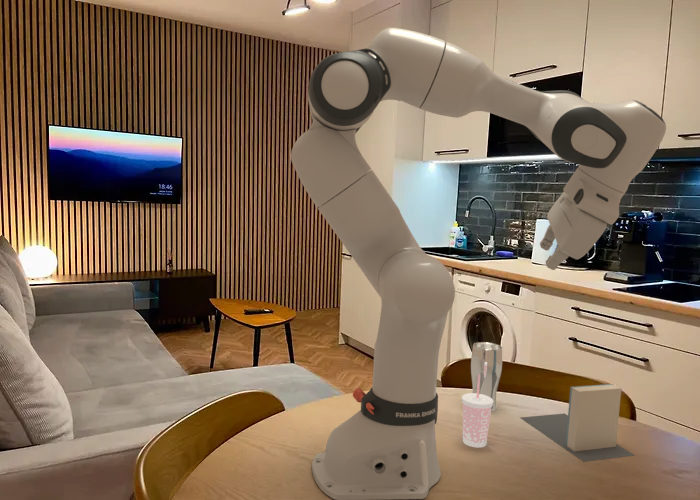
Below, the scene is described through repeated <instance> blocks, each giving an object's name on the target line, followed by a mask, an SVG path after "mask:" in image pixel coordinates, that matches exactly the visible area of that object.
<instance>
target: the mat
mask: <svg viewBox="0 0 700 500" xmlns="http://www.w3.org/2000/svg"><path fill="white" fill-rule="evenodd" d="M519 418H520V419H521V420H523V422H525V423H527V424H528V425H530V426H531V427H533V428H534V429H535V430H537V431H538V432H539V433H542V434H543V435H544V436H546V437H547V438H548V439H550V440H551V441H553V442H554V443H556V444H557V445H559V446H560V447H561V448H562V449H565V450H566V451H568V452H569V453H570V454H572V455H574V456H575V457H576V458H578V459H579V460H581V461H582V462H583V463H584V462H592V461H601V460H609V459H617V458H624V457H633V456H635V454H634V453H632V452H631V451H629V450H627V449H625V448H624V447H622V446H621V445H618V444H617V443H616V447H608V448H600V449H591V450H582V451H573V450H571V449H570V448H568V447H567V446H565V445H566V433H567V422H568V414H566V413H556V414H543V415H533V416H521V417H519Z"/></svg>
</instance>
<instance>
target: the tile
mask: <svg viewBox="0 0 700 500" xmlns="http://www.w3.org/2000/svg"><path fill="white" fill-rule="evenodd" d="M621 397H622V387H619V386H617V385H615V384H613V383H609V384H594V385H593V384H592V385H580V386H579V385H578V386H570V391H569V400H568V409H567V410H568V411H567V413H568V414H567V415H568V422H567V433H566V445H565V446H567V447H568V448H570V449H571V450H573V451H582V450H591V449H600V448H608V447H616V444H617V439H618V438H617V437H618V426H619V417H620V415H619V414H620V406H621Z"/></svg>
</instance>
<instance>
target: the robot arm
mask: <svg viewBox="0 0 700 500" xmlns="http://www.w3.org/2000/svg"><path fill="white" fill-rule="evenodd" d="M307 90H308V91H307V101H308V106H309V111H310V115H311V126H310V127H309V128H308V129H307V130H306V131H304V132H303V133H302V134H301V135H300V136H299V137H298V139H296V141H295V143H294V144H293V147H292V148H291V153H290V160H291V163H292V165H293V168H294V170H295V172H296V175H297V177H298V178H299V180H300V182H301V184H302V186H303V188H304V189H305V191H306V193H307V194H308V196H309V197H310V199H311V201H312V202H313V203H314V205H315V206H316V208H317V210H318V211H319V212H320V214H321V215H322V217H323V218H324V219H325V221H326V222H327V224H328V225H329V226H330V227H331V229H332V230H333V232H334V233H335V234H336V236H337V237H338V239H339V241H341V243H342V244H343V247H345V248H346V251H347V252H348V253H349V255H351V258H352V259H353V260H354V262H355V263H356V264H357V265H358V266H357V267H359V268H360V270H361V272H362V273H363V275H364V276H365V277H366V278H367V280H368V281H369V284H370V285H371V286H372V287H373V288H374V290H375V291H376V293H377V294H378V296H379V297H380V299H381V300H380V301H381V308H380V316H379V324H378V329H377V335H376V340H375V343H374V351H373V365H372V366H373V367H372V368H373V369H372V370H373V371H372V385H371V388H370V389H369V390H368V392H367V393H365V392H364V390H363V389H362V388H360V387H356V388H355V389H354V390H352V397H353V398H354V399H355V401H356V402H357V403H360V410H358V411H357V412H356V413H354V414H353V415H351V417H349V418H348V419H347V420H345V421H344V422H342V423H340V425H338V426H336V427H335V428H333V430H332V431H331V432H330V434H329V436H328V439H327V442H326V447H325V451H323V452H319V453H316V454H315V456H314V457H313V459H312V463H311V472H312V476H313V479H314V481H315V482H316V485H317V487H319V489H320V490H321V491H322V492H323V493H324V494H325V495H326V496H328V497H329V498H331V499H333V500H424V499H426V498H427V496H428V494H429V492H430V489H431V488H432V487H433V486H434V485H436V484H437V483H438V482H439V480H440V479H441V475H442V474H441V469H440V465H439V460H438V454H437V443H436V441H437V440H436V424H437V421H438V411H439V410H438V409H439V394H438V392H437V384H438V383H437V381H438V368H439V367H438V366H439V355H440V347H441V342H442V339H443V334H444V331H445V327H446V323H447V319H448V314H449V312H450V310H451V308H452V307H453V304H454V302H455V298H456V297H455V296H456V288H455V283H454V281H453V278H452V276H451V274H450V272H449V270H448V269H447V267H446V266H445V265H444V264H443V263H442V262H441V261H440V260H439V259H437V258H436V257H434V256H432V255H429V254H427V253H426V252H425V251H424V250H423V249H422V248H421V246H420V245H419V243H418V242H417V240H416V238H415V236H414V235H413V234H412V232H411V230H410V228H409V226H408V225H407V223H406V221H405V219H404V217H403V215H402V213H401V211H400V208H399V207H398V205H397V204H396V203H395V201H394V200H393V198H392V196H391V195H390V194H389V192H388V191H387V190H386V188H385V186H384V185H383V183H382V181H380V179H379V177H378V176H377V175H376V173H375V172H374V170H373V169H372V167H370V165H369V164H368V162H367V160H365V158H364V156H363V155H362V153H361V151H360V149H359V147H358V145H357V141H356V133H357V132H358V131H359V130H361V127H362V126H364V125H365V124H366V123H367V122H368V121H369V120H370V119H371V117H372V115H373V113H374V111H375V110H376V108H377V107H378V105H379V104H380V102H383V101H387V100H390V101H391V100H392V101H398V102H404V103H405V104H408V105H410V106H412V107H414V108H418V109H420V110H423V111H425V112H427V113H431V114H435V115H440V116H445V117H449V118H456V119H457V118H458V119H459V118H462V117H464V116H467V115H469V114H470V113H473V112H474V113H475V112H485V113H489V114H493V115H495V116H498V117H501V118H503V119H506V120H509V121H511V122H514V123H516V124H520V125H523V126H524V127H525V128H527V129H528V130H529V131H530V132H531V134H532V135H534V137H535V138H536V139H537V140H538V141H540V142H541V143H543V144H544V145H545V146H546V147H547V148H548V149H549V150H550V151H551V152H552V153H553V154H555V155H556V156H557V157H558V158H560V159H561V160H563V161H566V162H570V163H574V164H576V165H578V167H577V168H576V169H575V171H574V172H573V174H572V175H571V176H570V178H569V180H568V181H567V183H566V184H565V185H564V187H563V188H562V190H563V192H562V193H561V194H560V195H559V197H558V199H557V200H556V201H555V202H554V204H553V205H552V207H551V208H550V209H549V211H548V213H547V216H546V218H547V221H548V223H549V224H548V226H547V229H546V230H545V232H544V236H543V238H542V239H541V241H540V242H539V246H540V248H541V249H543V250H544V251H549V250H550V249H551V247H552V246H553V245H554V241H556V243H557V247H556V248H555V251H554V253H552V255H549V256H548V257H547V259H546V260H545V266H546V268H548V269H550V270H551V271H555V270H556V269H557V268H558V266H559V265H561V263H563V262H564V261H566V260H567V259H568V258H569V257H570V258H572V259H574V260H579V259H581V258H583V257H584V256H585V255H586V254H588V252H589V251H590V250H591V249H592V248H593V246H595V244H596V243H597V242H598V240H599V239H600V238H601V236H602V235H603V233H605V231H606V228H607V227H608V226H607V225H610V226H611V225H613V224H614V223H615V222H616V221H617V220H618V218H619V216H620V204H621V199H622V198H623V196H624V195H625V194H626V192H627V191H628V188H629V185H630V183H631V182H632V181H633V179H634V178H635V177H636V176H637V175H638V174H639V173H641V172H642V171H643V170H644V169H645V167H646V165H648V163H649V162H650V160H651V159H652V157H653V155H654V154H655V153H656V151H657V150H658V148H659V147H660V144H661V142H662V141H663V139H664V137H665V135H666V132H667V125H666V122H665V119H663V118H662V117H661V116H660V115H659V114H658V113H657V112H656V111H655V110H654V109H652V108H650V107H649V106H647V105H646V104H644V103H642V102H641V101H638V100H635V99H630V100H628V101H625V102H614V103H603V102H601V103H600V102H589V101H588V100H586V99H585V98H583V97H582V96H580V95H579V94H577V93H576V92H573V91H570V90H564V89H563V90H562V89H560V90H558V89H557V90H545V91H544V90H542V91H541V90H536V89H534V88H531V87H528V86H527V85H523V84H521V83H518V82H515V81H513V80H510V79H508V78H504V77H503V76H500V75H498V74H497V73H495V72H494V71H493V70H491V68H489V66H488V65H487V64H486V63H485V62H484V61H483V60H481V59H480V58H479V57H477V56H476V55H474V54H472V52H469V51H467V50H466V49H464V48H462V47H460V46H458V45H456V44H454V43H452V42H449V41H447V40H444V39H441V38H439V37H436V36H433V35H429V34H426V33H423V32H419V31H415V30H410V29H405V28H399V27H387V28H384V29H382V30H380V31H379V32H378V33H377V34H376V35H375V36H374V37H373V38H372V41H371V42H370V43H369V45H368V47H366V48H359V49H355V50H349V51H341V52H336V53H332V54H330V55H328V56H325V58H323V59H321V61H320V62H318V64H317V65H316V66H315V68H314V69H313V71H312V73H311V75H310V78H309V82H308V89H307Z"/></svg>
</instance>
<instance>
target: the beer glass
mask: <svg viewBox="0 0 700 500" xmlns="http://www.w3.org/2000/svg"><path fill="white" fill-rule="evenodd" d="M471 350H472V352H471V358H470V360H471V361H470V374H471V383H472V393H477V382H478V374H480V388H479V394H483V395H486V396H489V397H490V398H492V399H493V406H492V407H491V413H494V412H496V411H497V410H498V406H497V391H498V387H499V383H500V379H501V377H502V376H501V375H502V370H503V347H502V346H501V345H500V344H497V343H494V342H489V341H488V342H487V341H481V342H480V341H479V342H474V343H473V345H472V349H471Z"/></svg>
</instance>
